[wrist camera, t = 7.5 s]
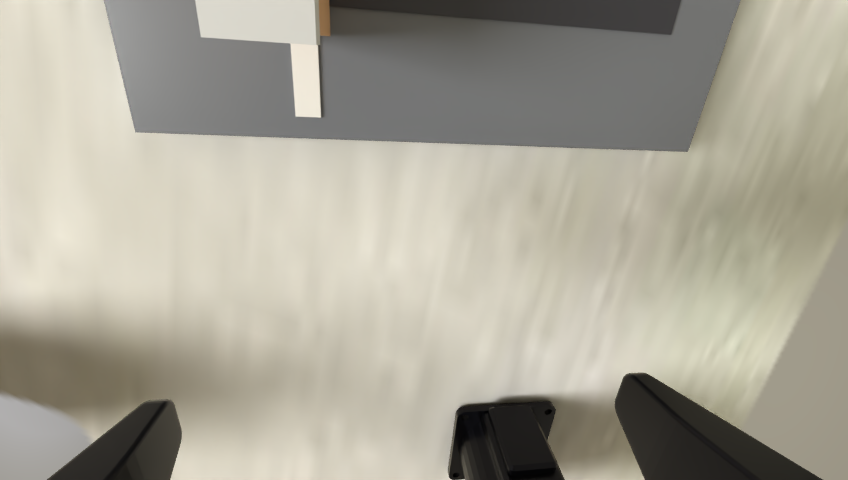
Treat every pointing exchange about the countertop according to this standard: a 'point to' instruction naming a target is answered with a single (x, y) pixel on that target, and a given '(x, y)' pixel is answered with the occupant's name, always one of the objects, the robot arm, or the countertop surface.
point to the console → (435, 72)
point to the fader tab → (265, 20)
